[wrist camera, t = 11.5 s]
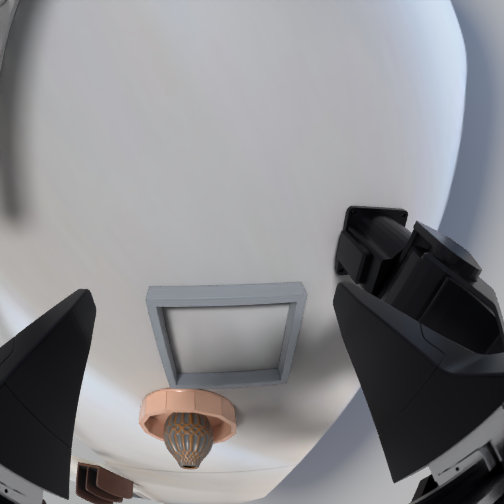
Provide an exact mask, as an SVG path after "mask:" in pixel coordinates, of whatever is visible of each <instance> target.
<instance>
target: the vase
mask: <svg viewBox="0 0 504 504" xmlns="http://www.w3.org/2000/svg"><path fill="white" fill-rule="evenodd" d="M163 437H164V442H165V445H166V447H167V449H168V450H169V452H170V453H171V454H172V455H173V457H174V458H175V459H176V460H177V462H178V464H179V466H180V467H181V468H184V469H197V468H198V467H199V465H200V463H201V461H202V460H203V459H204V458H205V457H206V456H207V455H208V453H209V452H210V450H211V448H212V445H213V439H214V436H213V429H212V426H211V423H210V421H209V420H208V418H207V417H206V416H205V415H203V414H199V413H188V412H173V413H171V414H170V415H169V416H168V418H167V420H166V422H165V425H164V430H163Z"/></svg>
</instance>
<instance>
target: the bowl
mask: <svg viewBox="0 0 504 504" xmlns="http://www.w3.org/2000/svg"><path fill="white" fill-rule="evenodd" d="M173 412H188V413H199V414H203V415H205V416H206V417H207V418H208V420H209V421H210V423H211V426H212V429H213V436H214V439H213V444H215V443H219V442H224V441H226V440H227V439H229V438H230V437H232V436H234V435H235V434H236V418H235V410H234V407H233V405H232V403H231V402H230V401H229V400H227V399H226V398H224V397H223V396H221V395H218V394H216V393H213V392H209V391H205V390H201V389H171V388H166V389H161V390H157V391H154V392H152V393H150V394H148V395H147V396H146V397H145V398H144V400H143V404H142V405H141V407H140V415H139V424H140V426H141V427H142V429H143V430H144V431H145V433H147V434H149V435H151V436H153V437H155V438H157V439H159V440H161V441H164V437H163V430H164V425H165V422H166V420H167V418H168V416H169V415H170V414H171V413H173Z"/></svg>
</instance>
